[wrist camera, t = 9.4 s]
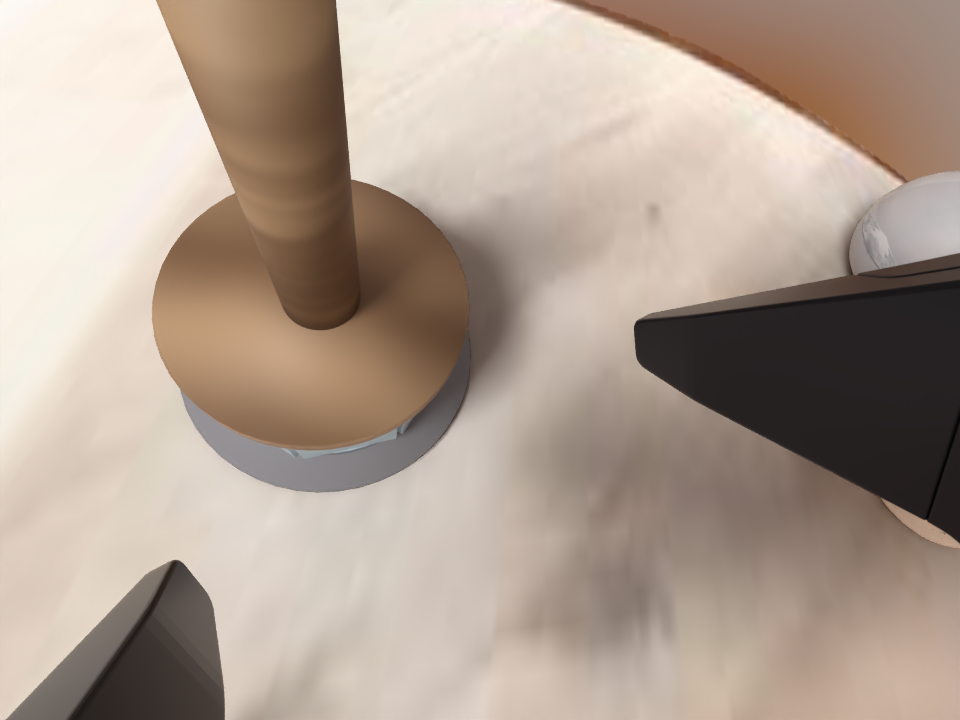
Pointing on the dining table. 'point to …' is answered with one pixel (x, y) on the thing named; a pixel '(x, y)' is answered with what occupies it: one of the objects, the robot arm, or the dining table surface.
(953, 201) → the bath bomb
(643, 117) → the dining table surface
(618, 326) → the dining table surface
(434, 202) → the dining table surface
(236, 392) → the lid
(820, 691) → the dining table surface
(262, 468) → the trivet
